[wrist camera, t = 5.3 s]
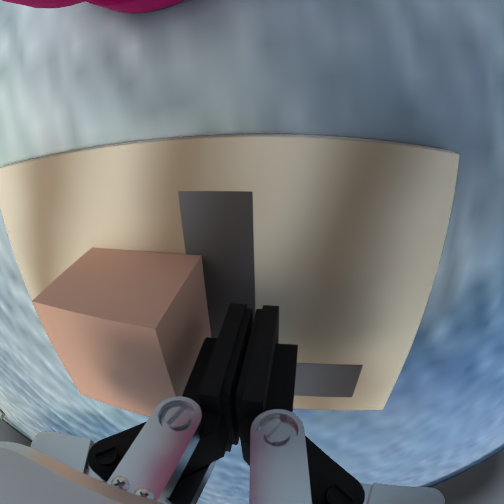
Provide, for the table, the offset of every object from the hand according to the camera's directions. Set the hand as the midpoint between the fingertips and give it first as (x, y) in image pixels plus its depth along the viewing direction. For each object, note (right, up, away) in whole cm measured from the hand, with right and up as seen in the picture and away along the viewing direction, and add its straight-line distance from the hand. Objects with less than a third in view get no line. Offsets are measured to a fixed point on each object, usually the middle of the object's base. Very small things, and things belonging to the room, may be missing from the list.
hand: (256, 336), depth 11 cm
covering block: (-4, +1, +2) cm, 5 cm away
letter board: (-3, +1, +2) cm, 4 cm away
